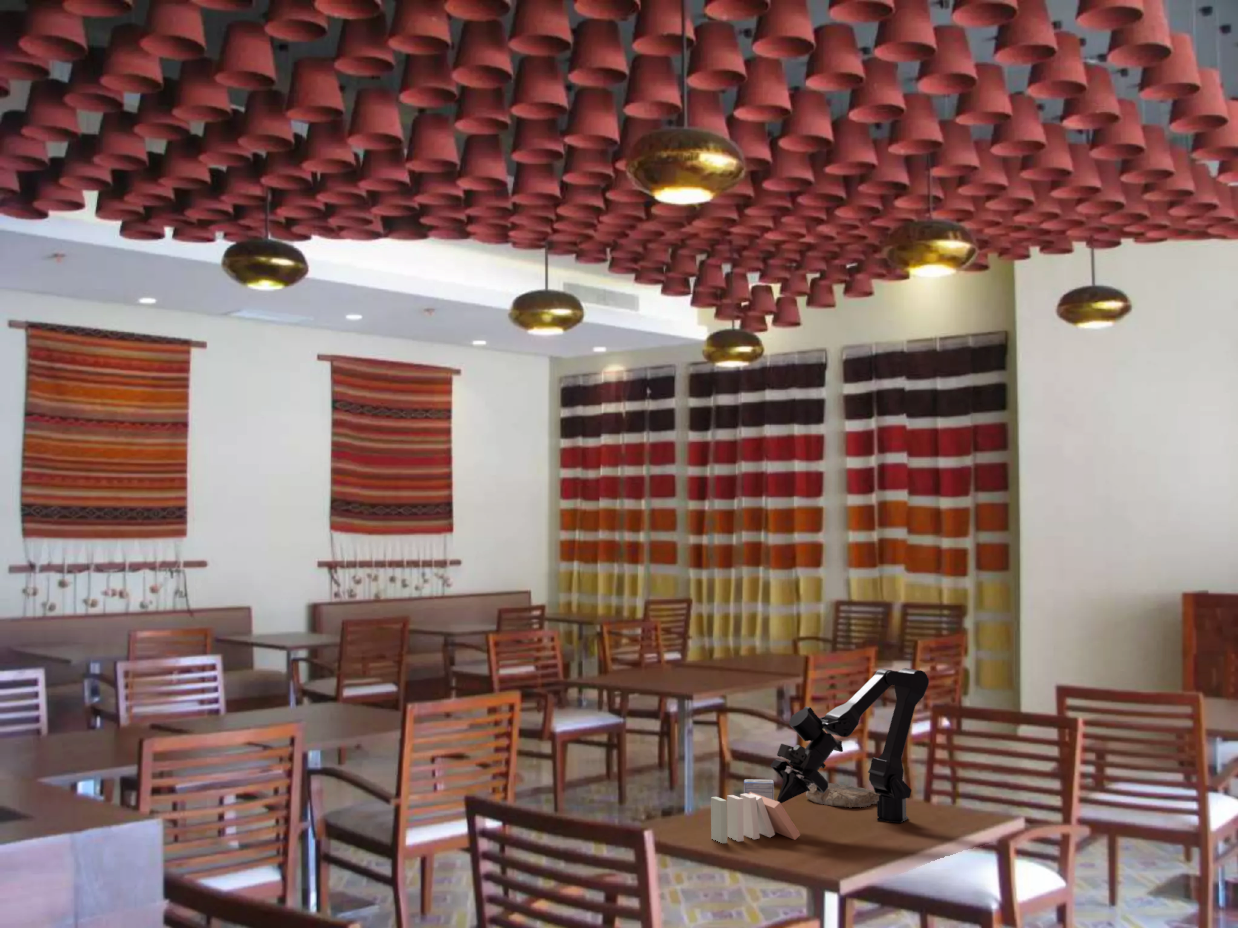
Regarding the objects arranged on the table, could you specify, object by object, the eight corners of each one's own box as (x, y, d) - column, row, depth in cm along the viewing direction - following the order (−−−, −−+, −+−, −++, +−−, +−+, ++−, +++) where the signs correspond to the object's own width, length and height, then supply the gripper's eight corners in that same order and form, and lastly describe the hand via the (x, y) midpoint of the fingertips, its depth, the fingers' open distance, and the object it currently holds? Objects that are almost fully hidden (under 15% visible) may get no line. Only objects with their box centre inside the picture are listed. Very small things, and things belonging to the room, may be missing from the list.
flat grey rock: (793, 801, 348) (854, 810, 334) (793, 783, 348) (853, 792, 334) (823, 794, 358) (883, 804, 343) (823, 777, 358) (883, 785, 344)
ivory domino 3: (764, 830, 309) (751, 793, 308) (775, 834, 305) (761, 796, 304) (759, 833, 309) (746, 796, 308) (769, 837, 304) (756, 799, 303)
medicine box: (774, 812, 332) (773, 779, 333) (774, 815, 328) (774, 782, 328) (744, 811, 333) (743, 778, 334) (744, 815, 329) (743, 782, 329)
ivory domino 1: (733, 836, 306) (732, 794, 306) (743, 840, 301) (743, 798, 302) (727, 836, 305) (727, 795, 306) (737, 841, 300) (737, 799, 301)
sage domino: (717, 838, 304) (716, 796, 304) (727, 842, 299) (726, 800, 300) (711, 838, 303) (710, 796, 304) (721, 843, 299) (720, 800, 299)
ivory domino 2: (749, 833, 308) (745, 793, 308) (759, 838, 303) (756, 796, 303) (743, 834, 307) (739, 794, 307) (754, 839, 302) (750, 797, 303)
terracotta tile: (770, 822, 315) (750, 791, 313) (800, 834, 303) (779, 802, 301) (764, 827, 315) (744, 796, 313) (795, 839, 302) (774, 807, 300)
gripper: (776, 726, 320) (739, 774, 315) (817, 737, 303) (778, 787, 298) (803, 755, 323) (766, 802, 318) (845, 767, 306) (807, 817, 301)
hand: (778, 801), depth 309 cm, fingers closed
